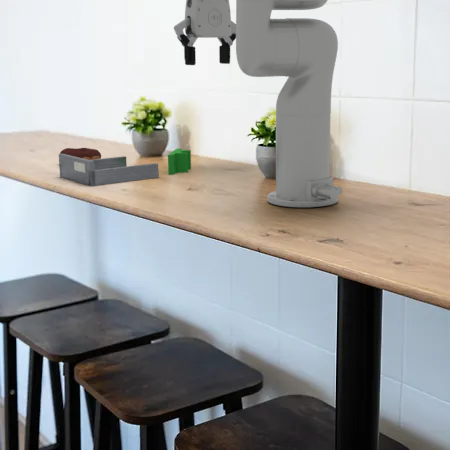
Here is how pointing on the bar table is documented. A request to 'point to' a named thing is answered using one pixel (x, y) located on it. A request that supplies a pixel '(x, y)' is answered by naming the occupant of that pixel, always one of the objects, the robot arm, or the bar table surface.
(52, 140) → the bar table surface
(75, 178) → the grey tray
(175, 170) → the green stepped block
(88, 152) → the donut
